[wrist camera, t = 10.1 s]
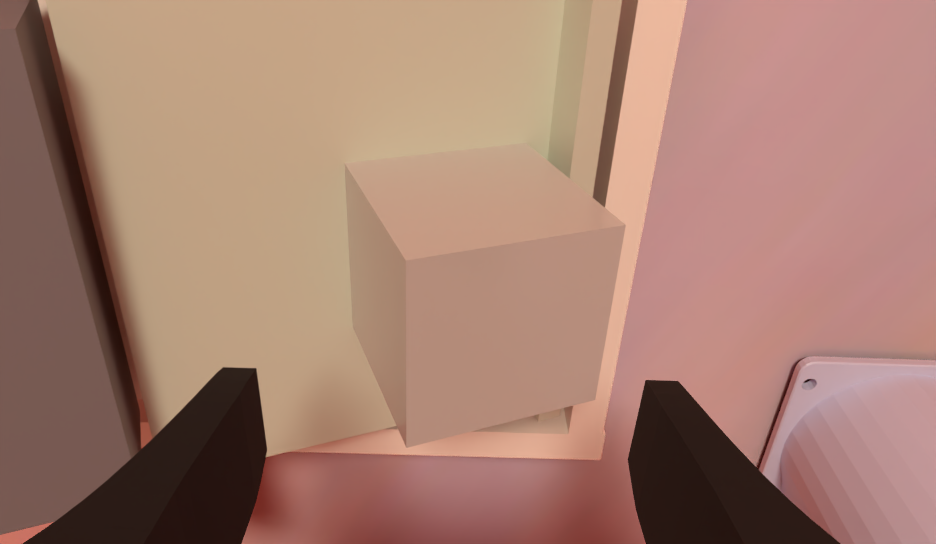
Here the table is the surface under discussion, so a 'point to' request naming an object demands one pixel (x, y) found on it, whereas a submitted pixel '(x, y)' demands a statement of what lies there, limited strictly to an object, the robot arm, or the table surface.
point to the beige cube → (478, 286)
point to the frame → (616, 188)
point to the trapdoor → (236, 200)
